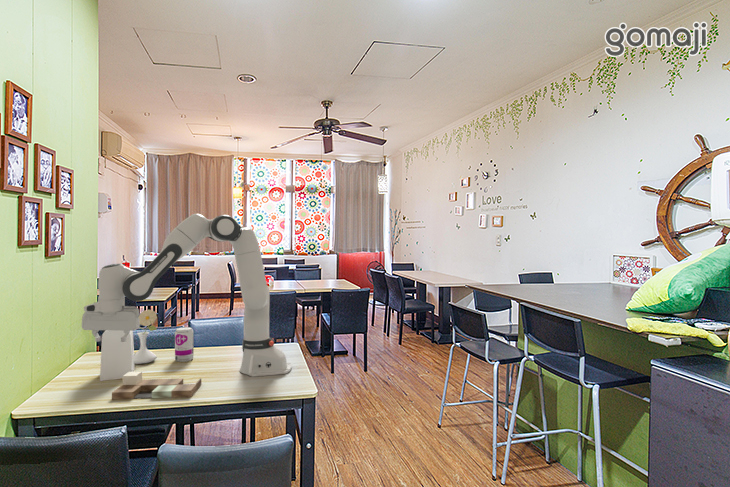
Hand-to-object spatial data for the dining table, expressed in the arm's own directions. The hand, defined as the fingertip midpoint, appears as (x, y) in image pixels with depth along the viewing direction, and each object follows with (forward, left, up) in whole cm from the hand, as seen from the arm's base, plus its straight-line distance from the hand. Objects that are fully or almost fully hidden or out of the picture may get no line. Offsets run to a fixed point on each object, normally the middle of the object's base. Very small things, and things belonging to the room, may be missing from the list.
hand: (111, 341), depth 162 cm
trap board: (-19, +4, -19) cm, 27 cm away
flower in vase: (+2, -35, -19) cm, 40 cm away
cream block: (-8, +1, -16) cm, 18 cm away
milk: (+6, -18, -19) cm, 27 cm away
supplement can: (-15, -38, -19) cm, 45 cm away
